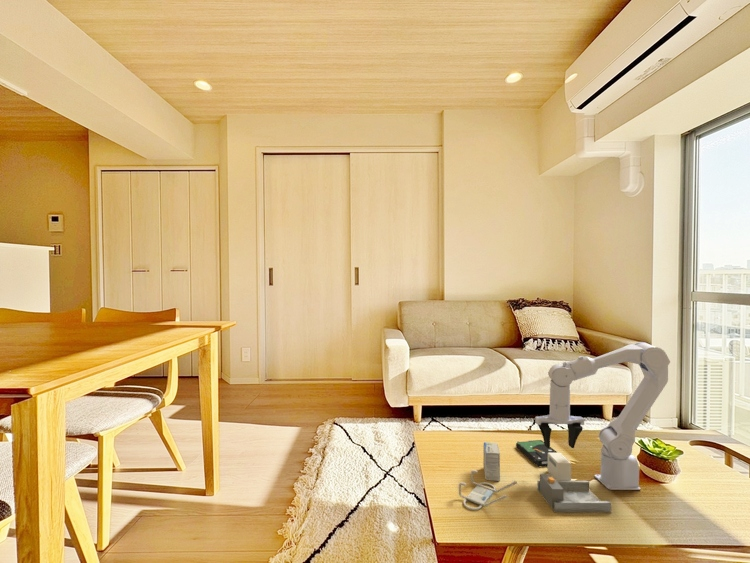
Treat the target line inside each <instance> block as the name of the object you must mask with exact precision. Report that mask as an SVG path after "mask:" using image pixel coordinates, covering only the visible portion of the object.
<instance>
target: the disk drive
mask: <svg viewBox="0 0 750 563" xmlns="http://www.w3.org/2000/svg"><path fill="white" fill-rule="evenodd" d="M515 448H516V449H517V450H518V451H520V452H521V453H522V454H523V455H524V456H525V457H526V458H527V459H528V460H529V461H531V462H532V463H533V464H534V465H536V466H537V467H539V468H541V467H548V453H559V452H558V451H556V450H555V449H554V448H553V447H552V446H550V448H547V447H546V446H545V444H544V440H543V439H536V440H527V441H517V442H516V443H515Z"/></svg>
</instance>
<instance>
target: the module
mask: <svg viewBox="0 0 750 563" xmlns="http://www.w3.org/2000/svg"><path fill="white" fill-rule="evenodd" d="M547 473H548V474H551V476H552V477H553V478H554V479H555V480H556V481H572V463H571V462H570V461H569V460H568V458H566V457H565V456H564V455H563V453H561V452H558V453H548V466H547Z"/></svg>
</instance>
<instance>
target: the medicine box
mask: <svg viewBox="0 0 750 563" xmlns="http://www.w3.org/2000/svg"><path fill="white" fill-rule="evenodd" d="M482 463H483V471H484V472H483V473H484V479H485V480H486V481H491V482H492V481H494V482H500V481H501V455H500V449H499V446H498V443H496V442H490V441H489V442H484V441H483V461H482Z"/></svg>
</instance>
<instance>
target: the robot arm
mask: <svg viewBox="0 0 750 563" xmlns="http://www.w3.org/2000/svg"><path fill="white" fill-rule="evenodd" d="M626 362H627V363H631V364H636V365H638V366H639V367H640V370H641V372H642V375H643V378H642V380H641V381H640V383H639V384H638V386H637V387H636V389H635V390H634V392H633V394H632V395H631V396H630V398H629V399H628V401H627V403H626V404H625V406H624V408H623V409H622V410H621V412H620V414H619V415H618V417H617V419H614V420H612V421H610V422H609V424H608V425H607V426H605V427H603V428H602V429H600V430H599V432H598V438H599V441H600V443H601V444H602V447H601V449H600V474H594V478H595V479H597V480H598V481H599V482H600V483H601V484H602V485H603V486H605V488H606V489H608V490H609V491H613V490H615V491H632V490H633V491H639V490H641V487H640V486H639V485H640V484H639V482H640V466H639V462H638V460H637V458H636V457H635V456H634V455H633V454H632V453H633V446H634V444H635V442H636V431H637V429H638V427H639V426H640V425H641V423H642V422H643V420H644V418H646V416H647V414H648V412H649V411H650V410H651V408H652V407H653V405H654V404H655V402H656V401H657V399H658V398H659V396H660V394H661V393H662V391H663V390H664V388H665V386H667V383H668V382H669V365H670V364H671V360H670V358H669V356H668V355H667V353H666V351H665V350H664V349H662V348H661V347H658V346H655V345H652V344H649V343H648V342H645V341H639V342H636V343H631V344H627V345H625V346H622V347H620V348H617V349H615V350H613V351H610V352H606V353H604V354H602V355H599V356H596V357H593V358H591V357H589V356H583V355H580V356H577V358H576V359H574V360H570V361H568V362H567V361H563V362H562V364H559V363H556V364H553V365H551V367H550V368H549V369H548V372H547V375H548V377H549V378H550V383H549V384H550V387H549V414H547V415H540V416H538V415H537V416H535V417H534V418H535V419H534V420H535V421H534V422H535V424H536V425H537V426H538V428H539V430H540V433H541V436H542V438H543V439H542V440H543V442H544V444H545V446H546V447H547V448H550V447H551V434H552V428H551V427H550V425H567V432H568V433H567V434H568V439H567V440H568V442H567V443H568V446H569V447H570V448H571V449H575V446H576V443H577V439H578V437H579V436H580V434H581V433H582V431H583V429H584V427H583V426H584V425H585V418H583V417H582V416H576V415H575V416H574V415H571V386H570V385H571V384H572V383H573V381H575V382H576V381H578V380H581V379H584V378H587V377H590V376H594V375H596V374H597V372H598V370H599V369H603V368H607V367H610V366H614V365H618V364H622V363H626Z"/></svg>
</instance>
